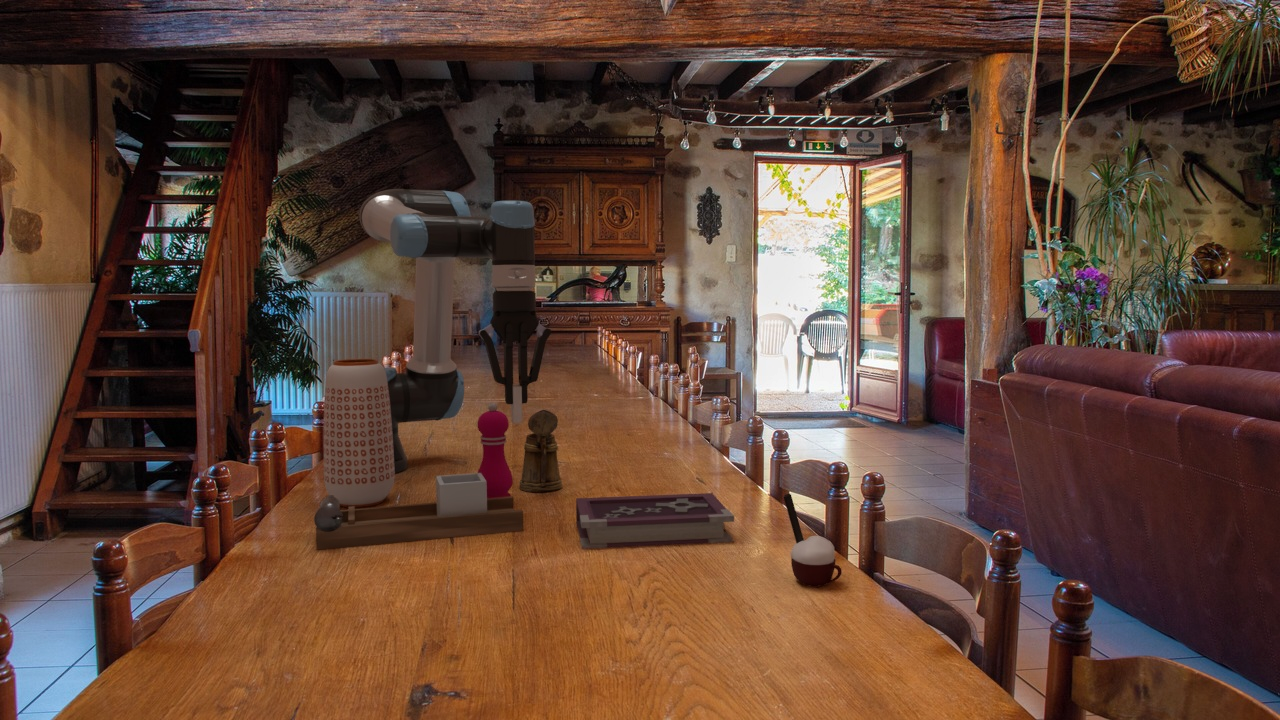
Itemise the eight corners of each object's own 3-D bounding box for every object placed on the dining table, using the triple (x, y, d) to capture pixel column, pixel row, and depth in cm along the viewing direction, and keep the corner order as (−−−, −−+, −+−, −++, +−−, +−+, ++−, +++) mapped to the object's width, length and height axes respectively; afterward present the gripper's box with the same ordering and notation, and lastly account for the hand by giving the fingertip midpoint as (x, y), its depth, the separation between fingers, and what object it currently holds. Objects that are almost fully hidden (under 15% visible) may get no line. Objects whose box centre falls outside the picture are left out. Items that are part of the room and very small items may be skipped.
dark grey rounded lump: (317, 524, 151) (316, 492, 150) (344, 522, 152) (343, 490, 152) (314, 545, 139) (313, 510, 139) (343, 542, 140) (342, 508, 140)
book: (581, 552, 141) (581, 522, 141) (575, 524, 157) (575, 497, 157) (733, 545, 145) (734, 515, 144) (712, 519, 161) (712, 492, 160)
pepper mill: (505, 509, 166) (503, 406, 164) (470, 507, 168) (467, 405, 166) (518, 500, 173) (516, 400, 171) (484, 498, 175) (482, 399, 173)
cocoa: (847, 591, 123) (853, 509, 122) (809, 596, 121) (815, 512, 119) (809, 568, 132) (815, 491, 130) (774, 572, 129) (779, 493, 128)
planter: (384, 510, 165) (380, 363, 163) (314, 511, 165) (308, 364, 163) (403, 493, 179) (399, 357, 176) (338, 494, 179) (333, 357, 176)
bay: (319, 531, 152) (318, 507, 152) (512, 514, 162) (512, 492, 162) (316, 549, 142) (315, 524, 141) (523, 530, 152) (523, 506, 152)
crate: (436, 514, 156) (435, 476, 155) (481, 510, 159) (480, 472, 158) (440, 524, 149) (439, 484, 149) (487, 520, 152) (486, 481, 151)
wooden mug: (522, 499, 174) (520, 410, 172) (518, 483, 187) (516, 401, 185) (566, 497, 176) (565, 408, 174) (559, 481, 189) (558, 399, 187)
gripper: (479, 290, 148) (483, 427, 150) (554, 289, 152) (557, 423, 154) (474, 290, 155) (477, 421, 157) (545, 289, 159) (548, 417, 161)
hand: (516, 421), depth 155 cm, fingers closed
